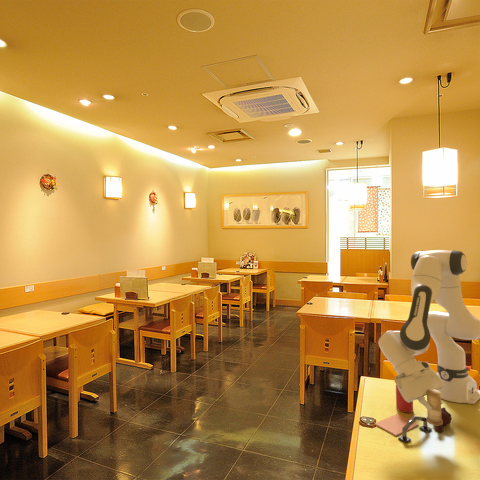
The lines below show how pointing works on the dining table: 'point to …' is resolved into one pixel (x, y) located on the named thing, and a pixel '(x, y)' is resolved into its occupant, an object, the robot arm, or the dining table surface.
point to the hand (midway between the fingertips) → (435, 407)
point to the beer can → (403, 403)
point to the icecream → (444, 419)
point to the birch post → (434, 407)
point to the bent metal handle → (410, 422)
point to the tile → (395, 424)
